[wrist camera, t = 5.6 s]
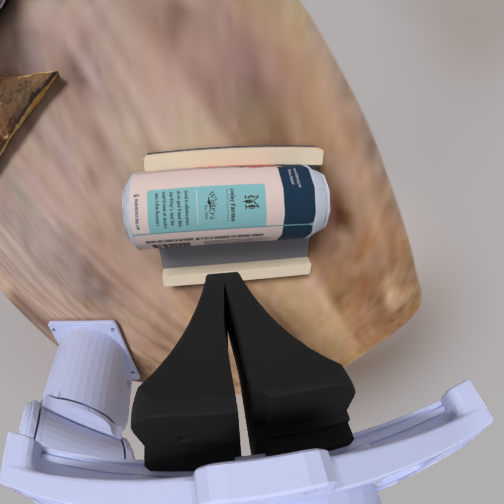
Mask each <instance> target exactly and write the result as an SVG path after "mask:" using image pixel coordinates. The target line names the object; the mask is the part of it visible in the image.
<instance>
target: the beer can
mask: <svg viewBox="0 0 504 504" xmlns="http://www.w3.org/2000/svg"><path fill="white" fill-rule="evenodd" d="M122 213H123V222H124V227H125V231H126V234H127V236H128V238H129V239H130V240H131V241H132V242H133V244H134V245H135V246H136V247H137V248H138V249H152V248H166V247H180V246H194V245H209V244H224V243H239V242H254V241H270V240H286V239H303V238H309V237H310V236H311V235H312V234H314V233H316V232H318V231H320V230H322V229H323V228H324V227H326V225H327V221H328V217H329V213H330V194H329V188H328V185H327V182H326V179H325V176H324V175H323V174H322V173H320V172H318V171H316V170H312V169H311V168H310V167H309V166H308V165H305V164H265V165H229V166H209V167H192V168H179V169H167V170H156V171H146V172H136V173H133V174H132V176H131V177H130V179H129V181H128V183H127V184H126V186H125V188H124V191H123V199H122Z"/></svg>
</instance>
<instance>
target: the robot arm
mask: <svg viewBox="0 0 504 504" xmlns="http://www.w3.org/2000/svg"><path fill="white" fill-rule="evenodd" d="M48 326H49V328H50V329H51V331H52V333H53V335H54V337H55V338H56V340H57V342H58V343H59V346H58V349H57V352H56V355H55V358H54V361H53V364H52V367H51V370H50V374H49V377H48V380H47V383H46V387H45V390H44V394H43V398H42V400H41V402H38V401H36V400H33V401H32V402H29V403H27V404H26V407H25V410H24V413H23V416H22V420H21V423H20V427H19V431H18V433H15V432H11V431H9V432H8V436H7V440H6V445H5V450H4V455H3V460H2V466H1V472H0V483H1V484H3V485H5V486H7V487H9V488H10V489H13V490H14V491H16V492H18V493H20V494H23V495H24V496H26V497H28V498H31V499H32V500H33V501H34V502H35V504H381V502H380V498H379V496H378V493H377V492H378V491H380V490H383V489H385V488H387V487H389V486H391V485H394V484H396V483H398V482H400V481H402V480H404V479H406V478H408V477H410V476H412V475H414V474H416V473H418V472H420V471H422V470H424V469H426V468H428V467H429V466H431V465H433V464H435V463H436V462H438V461H440V460H442V459H443V458H445V457H447V456H448V455H450V454H452V453H453V452H455V451H457V450H458V449H460V448H461V447H463V446H464V445H466V444H467V443H468V442H469V441H471V440H472V439H473V438H474V437H475V436H477V435H478V434H479V433H480V432H482V431H483V430H484V429H485V428H486V427H487V426H488V425H490V424H491V423H492V422H493V418H492V416H491V415H490V413H489V411H488V409H487V408H486V406H485V404H484V403H483V401H482V399H481V398H480V396H479V394H478V393H477V391H476V390H475V388H474V386H473V385H472V383H471V382H470V380H466V381H464V382H462V383H460V384H458V385H456V386H454V387H453V388H451V389H449V390H448V391H447V392H446V393H445V394H444V395H443V397H442V398H441V400H439V401H437V402H435V403H433V404H430V405H428V406H426V407H424V408H422V409H419V410H417V411H415V412H412V413H410V414H407V415H405V416H402V417H400V418H397V419H394V420H392V421H389V422H386V423H384V424H381V425H378V426H375V427H372V428H369V429H366V430H363V431H360V432H356V433H353V434H352V432H351V429H350V427H349V424H348V421H349V420H350V419H349V415H348V413H347V408H348V407H349V405H350V403H351V401H352V399H353V398H354V395H355V388H354V386H353V384H352V381H351V380H350V378H349V376H348V374H347V373H346V371H345V370H344V368H343V366H342V365H341V364H339V363H337V362H335V361H332V360H330V359H328V358H326V357H324V356H322V355H320V354H319V353H317V352H315V351H314V350H312V349H310V348H309V347H307V346H306V345H304V344H303V343H302V342H300V341H299V340H297V339H296V338H295V337H293V336H292V335H291V334H290V333H288V332H287V331H286V330H285V329H284V328H282V327H281V326H280V325H279V324H278V323H277V322H276V321H275V320H274V319H273V318H272V317H271V316H270V315H269V314H268V313H267V312H266V310H265V309H264V308H263V307H262V306H261V305H260V304H259V302H258V301H257V300H256V298H255V297H254V296H253V294H252V293H251V292H250V290H249V289H248V287H247V286H246V284H245V283H244V281H243V279H242V277H241V275H240V274H239V273H238V272H228V273H216V274H208V275H207V276H206V279H205V284H204V288H203V291H202V295H201V297H200V300H199V303H198V305H197V308H196V310H195V312H194V314H193V316H192V318H191V320H190V322H189V324H188V326H187V328H186V330H185V332H184V333H183V335H182V337H181V338H180V340H179V341H178V343H177V344H176V346H175V347H174V348H173V350H172V351H171V353H170V354H169V355H168V356H167V358H166V359H165V360H164V361H163V362H162V364H161V365H160V366H159V367H158V368H157V369H156V371H155V372H154V373H153V374H152V375H151V376H150V377H149V378H148V379H147V380H146V381H144V382H143V383H142V384H141V385H140V386H139V387H138V389H137V392H136V395H135V398H134V402H133V407H132V415H131V429H132V431H133V433H134V434H135V435H136V436H137V438H138V439H139V440H140V441H141V442H142V444H143V445H144V446H145V451H144V452H145V454H144V455H145V456H144V460H136V459H135V457H134V453H133V450H132V448H131V446H130V443H129V442H128V441H127V439H125V438H123V437H122V431H123V430H124V429H125V427H126V425H127V422H128V414H129V402H130V392H131V383H132V380H138V379H140V374H139V372H138V370H137V368H136V366H135V364H134V362H133V360H132V357H131V355H130V353H129V351H128V348H127V346H126V344H125V341H124V339H123V337H122V334H121V332H120V329H119V327H118V324H117V323H116V322H115V321H114V320H92V321H50V322H49V324H48ZM113 328H114V329H113ZM228 333H229V337H230V342H231V346H232V350H233V354H234V358H235V362H236V366H237V370H238V374H239V379H240V385H241V392H242V398H243V405H244V410H245V418H246V424H247V430H248V437H249V443H250V450H251V455H249V456H241V446H240V432H239V419H238V409H237V403H236V396H235V390H234V385H233V379H232V373H231V367H230V361H229V355H228Z"/></svg>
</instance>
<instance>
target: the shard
mask: <svg viewBox="0 0 504 504" xmlns="http://www.w3.org/2000/svg"><path fill="white" fill-rule="evenodd" d="M57 74H58V71H50V72H42V73H35V74H31V75H25V76H19V77H3V78H0V156H1V154H2V153H3V152H4V151H5V149H6V146H7V144H8V141H9V140H10V139H11V137H12V136H13V134H14V133H15V132H16V130H17V129H18V128H19V127H20V126H21V125H22V123H23V122H24V120H25V119H26V117H27V116H28V115H29V114H30V113H31V112H32V110H33V109H34V107H35V106H36V105H37V104H38V103H39V102H40V101H41V99H42V98H43V96H44V95H45V94H46V92H47V90H48V88H49V87H50V86H51V85H52V84H53V82H54V80H55V78H56V77H57Z"/></svg>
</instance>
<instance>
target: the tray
mask: <svg viewBox="0 0 504 504" xmlns="http://www.w3.org/2000/svg"><path fill="white" fill-rule="evenodd" d="M322 163H323V150H321V149H320V148H318V147H316V146H235V147H215V148H199V149H187V150H175V151H165V152H156V153H148V154H147V155H146V156H145V158H144V167H145V172H146V171H156V170H167V169H179V168H192V167H209V166H229V165H265V164H305V165H308V166H309V167H310V168H311V169H312V170H316V169H317V165H322ZM309 240H310V237H309V238H303V239H286V240H270V241H254V242H239V243H224V244H209V245H194V246H180V247H166V248H160V254H161V259H162V265H163V274H162V278H163V283H164V287H167V286H181V285H194V284H205V279H206V276H207V275H208V274H216V273H228V272H238V273H239V274H240V275H241V277H242V279H243V280H253V279H263V278H274V277H284V276H294V275H304V274H310V269H311V262H310V261H309V259H308V257H307V256H308V248H309Z"/></svg>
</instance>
